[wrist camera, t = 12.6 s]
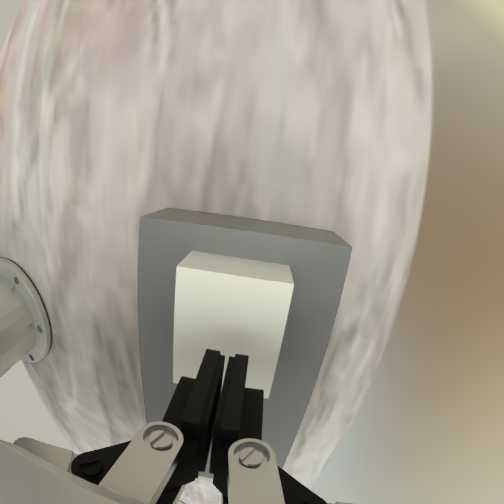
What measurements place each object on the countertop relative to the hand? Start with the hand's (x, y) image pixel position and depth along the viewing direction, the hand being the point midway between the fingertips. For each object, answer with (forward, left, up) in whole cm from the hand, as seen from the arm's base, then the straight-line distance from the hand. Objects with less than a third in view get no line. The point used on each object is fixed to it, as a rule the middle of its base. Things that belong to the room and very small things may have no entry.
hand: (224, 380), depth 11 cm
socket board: (-6, -3, -11) cm, 13 cm away
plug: (0, 0, -11) cm, 11 cm away
